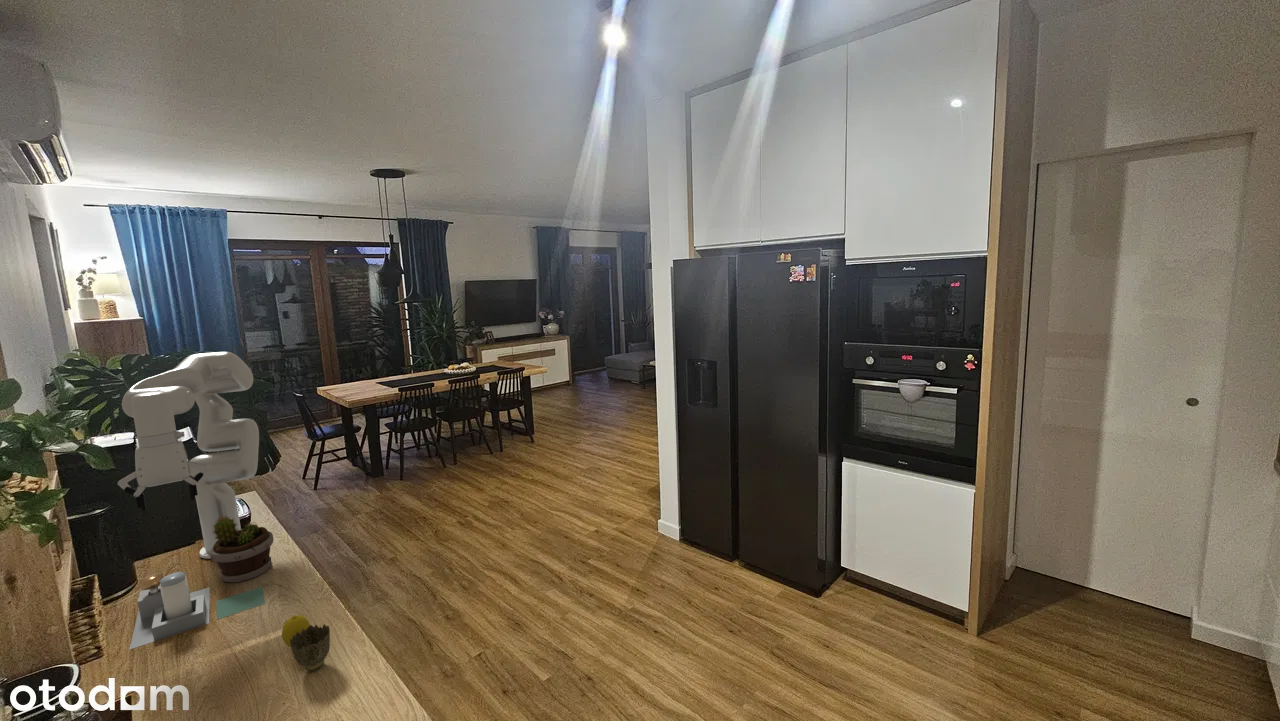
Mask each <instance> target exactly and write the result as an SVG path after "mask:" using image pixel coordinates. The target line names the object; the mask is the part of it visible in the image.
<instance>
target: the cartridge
mask: <svg viewBox="0 0 1280 721" xmlns="http://www.w3.org/2000/svg"><path fill="white" fill-rule="evenodd" d="M187 578H188V577H187V576H186V575H185V572H182V571H179V572H177V571H176V572H174V573H170V574H167V575H166V576H163V578H162V579H161V580H160V589H161V594H162V599H163V604H164V609H165V614H166V619H167V620H170V619H173V618H177V617H180V616H183V615H186V614H189V613H192V612H193V609H192V603H191V598H190V593H191V592H190V589H189V583H188V579H187Z"/></svg>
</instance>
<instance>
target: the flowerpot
mask: <svg viewBox="0 0 1280 721" xmlns="http://www.w3.org/2000/svg"><path fill="white" fill-rule="evenodd" d="M225 516H227V515H225ZM221 517H222V515H221ZM221 517H220V520H218V522H217V524H216V525H214V526H215V527H214V528H215V532H214V531H213V532H214V533H213V534H215V533H216V535H217V536H216V537H215V538H218V541H217V542H216V543H215V544H214V546H213V547H212V549H211V551H210V557H211V559H210V560H212V561H213V562H214V563H216V564H217V566H218V568H219V569H220V573H219V574H220V579H221V580H222V581H223V582H226V583H240V582H245V581H248V580H252V579H254V578H256V577H258V576H259V577H260V575H262V574H264V573H266V571H268V570H269V569H270V567H271V566H272V557H271V556H270V555H271V546H272V545H273V543H274V534H273V533H272V531H269V530H267V528H266V527H263V526H259V525H258V524H257V522H251V521H249V522H248V521H247V522H246V524H244V526H243V528H241V530H238V531H237V528H235V526H236V525H237V523H236V524H235V523H234V522H235V521H234V520H233V518H232V520H231V519H230V517H231V516H230V517H228V518H227V517H222V518H221ZM217 518H218V517H217ZM216 521H217V520H216ZM238 524H239V523H238ZM212 526H213V525H212ZM237 526H238V525H237ZM214 528H212V529H213V530H214ZM214 536H215V535H214ZM215 538H214V539H215ZM215 540H216V539H215Z"/></svg>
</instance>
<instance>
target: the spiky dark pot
mask: <svg viewBox="0 0 1280 721" xmlns="http://www.w3.org/2000/svg"><path fill="white" fill-rule="evenodd" d="M330 636H331V630H330V626H329V625H326V624H323V625H322V626H320V627H319V626H318V624H315V625H312V624H310V626H309V627H308V628H307V629H306V630H304V629H302V631H301V634H300V633H298V632H297V633H296V635H295V636H294V635H293V637H292V639H290V642H291V643H290V645H291V647H290V648H291V651H292V654H293V657H294V659H295V661H296V663H297V664H298V665H299V666H300V667H303V668H304V669H305V671H306V672H309V673H311V672H315V671H318V670H320V669H321V668H322V667H323V666H324V664H325V659H326V658H327V656H328V654H329V652H330V645H331V637H330Z"/></svg>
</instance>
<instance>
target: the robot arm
mask: <svg viewBox="0 0 1280 721" xmlns="http://www.w3.org/2000/svg"><path fill="white" fill-rule="evenodd" d="M253 383H254V374H253V372H252V370H251V368H250V367H249V366H248V365H247V364H246V362H244V360H242V358H241V357H239V356H238V355H237V354H235V353H233V352H230V351H216V352H215V351H214V352H203V353H202V352H200V353H195V354H191V355H188V356H187V357H185V358H184V359H183V360H182V361H180V363H178V364H177V366H175V367H174V368H173V369H170V370H167V371H165V372H162V373H160V374H157V375H153V376H150V377H147V378H145V379H142V380H140V381H137V383H135V384H133V385H132V386H131V387H130V388H129V389H127V391H126V392H125V393H124V395H123V398H122V401H121V407H122V410H123V413H124V414H126V415H127V416H128V417H130V418H133V421H134V427H135V432H136V438H137V445H138V447H136V448H135V450H134V453H135V454H134V460H135V461H134V462H135V464H134V465H135V470H134V472H133V471H132V473H130V474H128V475H127V476H125V477H123V478H121V479H120V480H118V481H117V486H119V487H120V488H121V489H122V490H123V491H124V492H125V493H126V494H129V495H132V496H133V497H135V500H136V504H137V505H136V506H137V509H139V508H140V510H141V512H145V511H147V502H146V497H145V493H144V490H145V489H146V488H151V487H157V486H161V485H166V484H171V483H175V482H181V481H185V482H186V483H188V488H189V495H190V496H189V497H190V500H191V501H194V500H195V501H196V506H197V511H198V516H199V523H200V527H201V534H202V539H203V543H204V546H202V548H200V549H199V557H200V558H202V559H210V560H212V559H211V557H210V551H211V549H212V547H213V546H214V544H215V543H216V542H217V541H218V538H215V537H216V536H217V535H216V533H215V534H213V533H214V532H215V528H214V527H215V526H214V525H216V524H217V522H218V520H220V517H221V515H222V517H227V518H228V517H230V516H231V517H230V519H231V520H232V518H233V520H234V521H235V522H234V523H235V524H236V523H237V525H238V526H237V525H236V526H235V528H237V531H238V530H242V528H241V522H240V516H239V509H238V504H237V498H236V494H235V491H234V490H233V488H232V487H231V486H230V485H229V484H227V483H229V482H235V481H236V482H237V481H242V480H243V481H244V480H248V479H251V478H252V477H255V475H256V474H257V470H258V463H259V447H260V432H259V431H260V430H259V426H258V424H257V422H256V421H255V420H253V419H252V418H236V419H233V414H234V408H233V407H232V405H231V404H230V403H229V401H227V400H226V399H225V398H223V397H221V396H220V395H219V394H226V393H233V392H243V391H247V390H249V389H250V388H252V387H253ZM195 403H196V404H197V407H198V409H199V419H198V426H197V434H196V435H197V437H196V439H197V447H198V448H199V450H200V451H203V452H209V453H203V454H200V455H197V456H194V457H193V458H191V459H189V458H188V454H187V451H186V448H185V446H184V445H185V444H184V443H183V441H182V440H179V439H181V438H184V437H185V431H179V430H177V428H176V422H175V420H176V419H175V416H176V415H180V414H184V413H187V412H188V411H190V410H191V409H192V408H193V406H194V405H195ZM134 479H136V482H137V485H138V486H137V487H136V488H135V487H133V486H131V485H129V482H132V480H134ZM225 515H227V516H225ZM217 517H218V518H217ZM222 517H221V518H222ZM216 520H217V521H216ZM238 523H239V524H238ZM212 525H213V526H212ZM212 528H214V530H213V529H212ZM213 531H214V532H213ZM214 535H215V536H214ZM214 538H215V539H216V540H215V539H214Z"/></svg>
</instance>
